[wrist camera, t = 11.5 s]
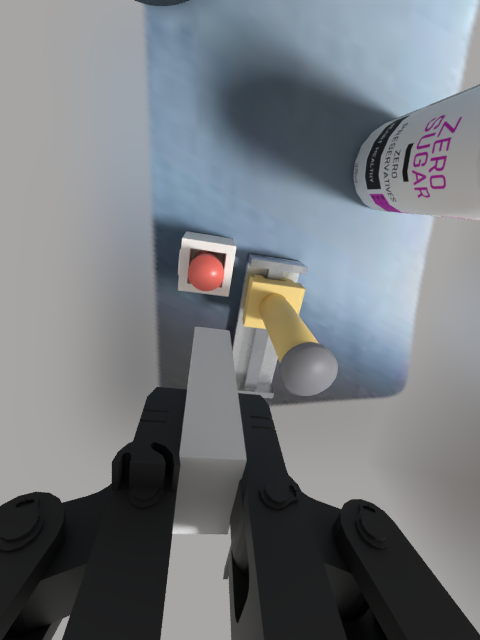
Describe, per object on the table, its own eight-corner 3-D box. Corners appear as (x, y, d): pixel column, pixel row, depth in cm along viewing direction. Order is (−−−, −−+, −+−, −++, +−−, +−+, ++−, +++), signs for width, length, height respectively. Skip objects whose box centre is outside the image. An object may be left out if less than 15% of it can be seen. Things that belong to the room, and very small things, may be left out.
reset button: (193, 244, 28) (189, 253, 24) (224, 249, 29) (226, 258, 24) (190, 275, 30) (186, 288, 25) (220, 279, 30) (221, 293, 26)
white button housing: (184, 230, 30) (179, 237, 25) (232, 238, 31) (236, 246, 26) (180, 276, 32) (175, 289, 27) (226, 282, 33) (228, 296, 28)
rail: (248, 253, 31) (252, 258, 29) (299, 261, 32) (307, 267, 30) (226, 380, 38) (227, 394, 35) (268, 384, 39) (272, 398, 36)
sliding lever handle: (248, 273, 31) (277, 335, 17) (296, 280, 32) (360, 344, 18) (241, 314, 33) (262, 399, 19) (286, 320, 34) (337, 405, 20)
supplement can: (436, 181, 30) (621, 170, 17) (366, 225, 31) (486, 249, 18) (413, 102, 27) (619, 8, 13) (337, 155, 28) (454, 118, 15)
